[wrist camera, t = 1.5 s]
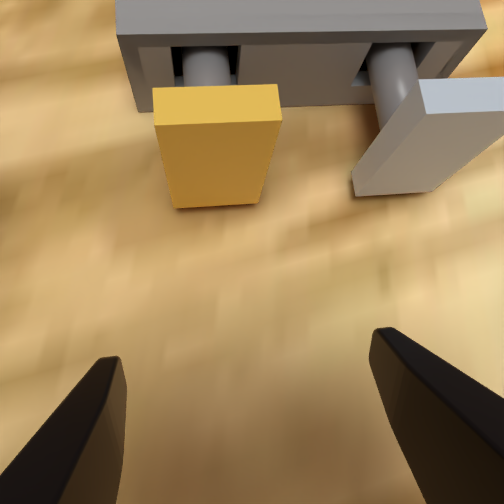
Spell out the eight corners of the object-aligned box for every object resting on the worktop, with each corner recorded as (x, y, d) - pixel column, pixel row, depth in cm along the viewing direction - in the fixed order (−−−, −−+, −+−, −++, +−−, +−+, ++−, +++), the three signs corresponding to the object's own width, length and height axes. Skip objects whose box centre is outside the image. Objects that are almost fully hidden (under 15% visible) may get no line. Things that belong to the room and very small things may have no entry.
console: (427, 101, 27) (487, 29, 21) (138, 112, 25) (116, 34, 19) (400, -13, 29) (447, -107, 23) (132, -13, 27) (111, -116, 21)
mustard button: (257, 203, 23) (282, 120, 15) (173, 208, 22) (154, 125, 15) (240, 54, 25) (253, -83, 17) (164, 56, 25) (143, -85, 17)
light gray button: (431, 191, 24) (536, 109, 16) (355, 196, 23) (426, 113, 16) (399, 50, 26) (477, -80, 19) (329, 52, 26) (380, -81, 18)
